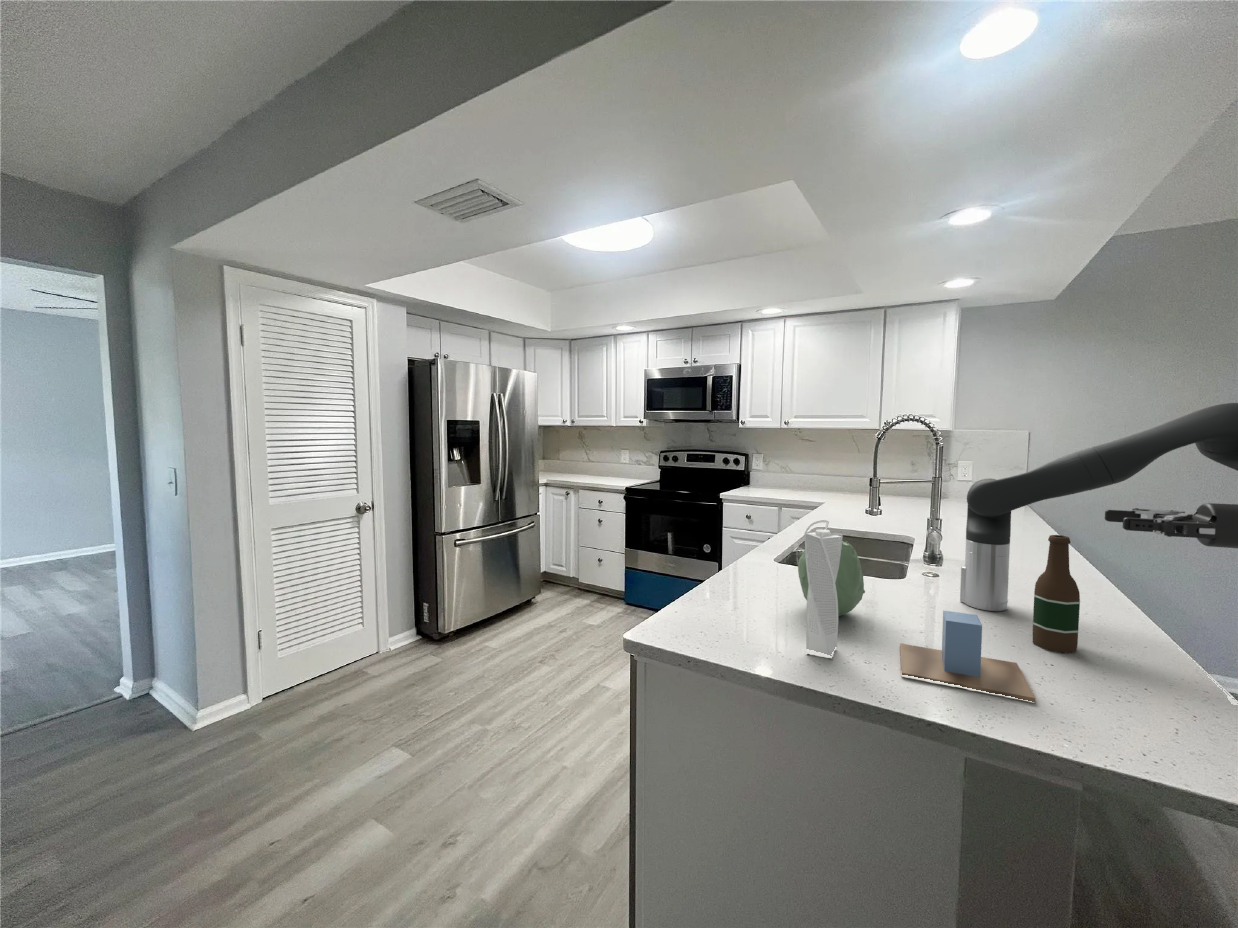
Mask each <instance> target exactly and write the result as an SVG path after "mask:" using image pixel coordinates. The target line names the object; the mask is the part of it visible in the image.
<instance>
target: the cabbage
mask: <svg viewBox="0 0 1238 928" xmlns="http://www.w3.org/2000/svg"><path fill="white" fill-rule="evenodd" d="M799 554H800V555H801V556H800V558H799V560H798V564H797V570H798V571H797V573H798V579H799V583H800V586H801V587H800V588H801V591H802V594H803V597H804V599H805V601H807V596H808V586H809V583H808V577H807V568H806V556H805V549H804V550H803V552H799ZM861 566H862V562H861V561H860V559H859V556H858V553H857V551H856V550H855V548H854V547H853V545H852V544H851V543H849V541H843V540H842V547H841V556H840V563H839V569H838V573H837V578H836V582H835V585H836V591H837V599H838V617H840V616H844V615H846V614H848V613H850V612H851V611H853V610H854V609H855V607H857V605H858V604H859V603H860V602H861V601H862V599H863V596H864V594H865V593H866V590H865V582H864V581H865V580H864V570H862V567H861Z"/></svg>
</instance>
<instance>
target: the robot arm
mask: <svg viewBox="0 0 1238 928" xmlns="http://www.w3.org/2000/svg"><path fill="white" fill-rule="evenodd" d="M1193 444H1195V447H1196V448H1197V450H1198V452H1199V453H1200V454H1201V455H1203V456H1204V457H1206V458H1208V459H1210V460H1211V461H1213V462H1216V463H1218V464H1220V465H1223V466H1225V467H1227V468H1230V469H1233V470H1235V471H1237V472H1238V402H1228V403H1221V404H1216V405H1211V406H1208V407H1204V408H1202V409H1199V410H1196V411H1193V412H1190V413H1188V414H1186V415H1182V416H1180V417H1177V418H1175V419H1172V420H1170V421H1168V422H1165V423H1162V424H1159V425H1156V426H1154V427H1151V428H1149V429H1146V430H1143V431H1140V432H1137V433H1134V434H1131V435H1128V436H1125V437H1122V438H1118V439H1116V440H1112V441H1109V442H1104V443H1101V444H1098V445H1094V446H1091V447H1087V448H1085V449H1081V450H1078V451H1075V452H1071V453H1069V454H1066V455H1063V456H1061V457H1058V458H1056V459H1054V460H1051V461H1049V462H1047V463H1045V464H1043V465H1040V466H1039V467H1036V468H1034V469H1032V470H1029V471H1026V472H1024V473H1020V474H1016V475H1011V476H1008V477H1003V478H999V479H995V478H983V479H979V480H977V481H975V482H974V483H973V484H972V485H971V486H970V487H969V490H968V491H967V494H966V503H967V511H966V512H967V515H966V528H965V551H964V552H965V554H964V555H965V556H964V561H965V562H964V566H963V565H962V566H961V568H960V587H959V589H960V592H959V593H960V594H959V602H960V603H964V604H965V605H967V606H968V607H972V608H974V609H977V610H982V611H990V612H1003V611H1007V609H1008V603H1009V597H1008V596H1009V579H1010V578H1009V576H1010V575H1009V574H1010V572H1009V571H1010V555H1011V553H1010V549H1011V547H1010V546H1011V530H1012V528H1011V525H1012V523H1011V522H1012V512H1013V511H1014V510H1016V509H1020V508H1024V507H1025V506H1028V505H1029V506H1030V505H1031V504H1034V503H1038V502H1042V501H1044V500H1045V501H1046V500H1049V499H1054V498H1055V499H1056V498H1061V497H1065V496H1070V495H1074V494H1078V493H1083V492H1088V491H1093V490H1096V489H1100V488H1104V487H1108V486H1112V485H1116V484H1119V483H1122V482H1124V481H1127V480H1128V479H1130V478H1132V477H1133V476H1135V475H1136V474H1138V473H1139V472H1140V471H1142V470H1143V469H1145V468H1146V467H1148V466H1149V465H1151V463H1153V462H1154V461H1156V460H1157V459H1158V458H1160V457H1161V456H1163V455H1165V454H1167V453H1170V452H1172V451H1174V450H1177V449H1181V448H1184V447H1186V446H1189V445H1193ZM1142 515H1146V516H1147V518H1142ZM1104 520H1105V521H1106V522H1109V523H1111V522H1112V523H1122V529H1123V530H1125V531H1131V532H1132V531H1134V532H1145V533H1147V532H1148V533H1154V534H1157V535H1163V536H1166V537H1167V538H1168V537H1170V538H1171V537H1179V538H1193V539H1194V538H1195V539H1197V540H1198V542H1199V543H1200V544H1202V545H1203V546H1206V547H1212V548H1213V547H1214V548H1224V549H1225V548H1226V549H1238V504H1237V503H1236V504H1235V503H1232V504H1231V503H1214V502H1213V503H1212V502H1210V503H1209V502H1207V503H1202V504H1201V505H1199V506H1198V508H1197V509H1196V512H1195V513H1190V512H1189V513H1187V512H1186V511H1185V510H1176V509H1175V510H1174V509H1173V510H1172V509H1171V510H1168V509H1167V510H1166V509H1165V510H1163V509H1153V508H1152V509H1147V508H1137V507H1135V508H1132V509H1131V510H1122V509H1119V510H1118V509H1106V510H1105V511H1104Z"/></svg>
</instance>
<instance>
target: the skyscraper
mask: <svg viewBox="0 0 1238 928" xmlns="http://www.w3.org/2000/svg"><path fill="white" fill-rule="evenodd" d="M821 523H826V524H825V527H824V529H821V528H818V529H815V532H808V531H809V530H810V529H811V527H813V526H815V525H818V524H821ZM829 523H830V521H829V520H825V519H824V520H817V521H814V522H812V523H811V524H810V525H808V527H807V528H806V530H805V532H804V550H805V556H806V568H807V577H808V583H809V586H808V596H807V600H806V613H805V614H806V617H805V620H806V621H805V625H806V626H805V628H806V629H805V630H806V631H805V637H806V638H805V639H806V641H805V642H806V643H805V644H806V647H805V648H806V649H809V650H814V651H816V652H821V653H824V654H827V655H830V656H832V655H831V654H832V652H833V651H834V649H835V647H837V648H838V634H839V633H838V631H839V616H838V599H837V591H836V585H835V582H836V578H837V573H838V569H839V563H840V556H841V547H842V541H843V534H842V533H840V532H835V533H834V532H832V533H831V530H829V529H828V527H829ZM806 649H805V650H806Z"/></svg>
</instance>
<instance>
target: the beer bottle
mask: <svg viewBox="0 0 1238 928" xmlns="http://www.w3.org/2000/svg"><path fill="white" fill-rule="evenodd" d="M1047 541H1048V542H1049V546H1048V554H1047V562H1046V567H1045V569H1044V570H1045V571H1043V573H1041V574H1040V575H1039V576H1038V578H1037V579H1036V581H1035V583H1034V591H1033V593H1034V596H1033V609H1032V610H1033V611H1032V613H1033V617H1032V643H1033V645H1035V646H1037V647H1039V648H1041V649H1043V650H1045V651H1048V652H1049V651H1050V652H1055V653H1058V654H1059V653H1060V654H1076V653H1077V650H1078V644H1079V643H1078V642H1079V627H1080V626H1079V623H1080V606H1081V605H1080V604H1081V596H1080V594H1081V593H1080V589H1079V587H1078V584H1077V582H1076V580H1075V579H1074V578H1073V576H1072V575H1071V571H1070V545H1069V544H1071V539H1070V537H1069V536H1065V535H1060V534H1050V535H1049V536H1048V540H1047Z"/></svg>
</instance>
